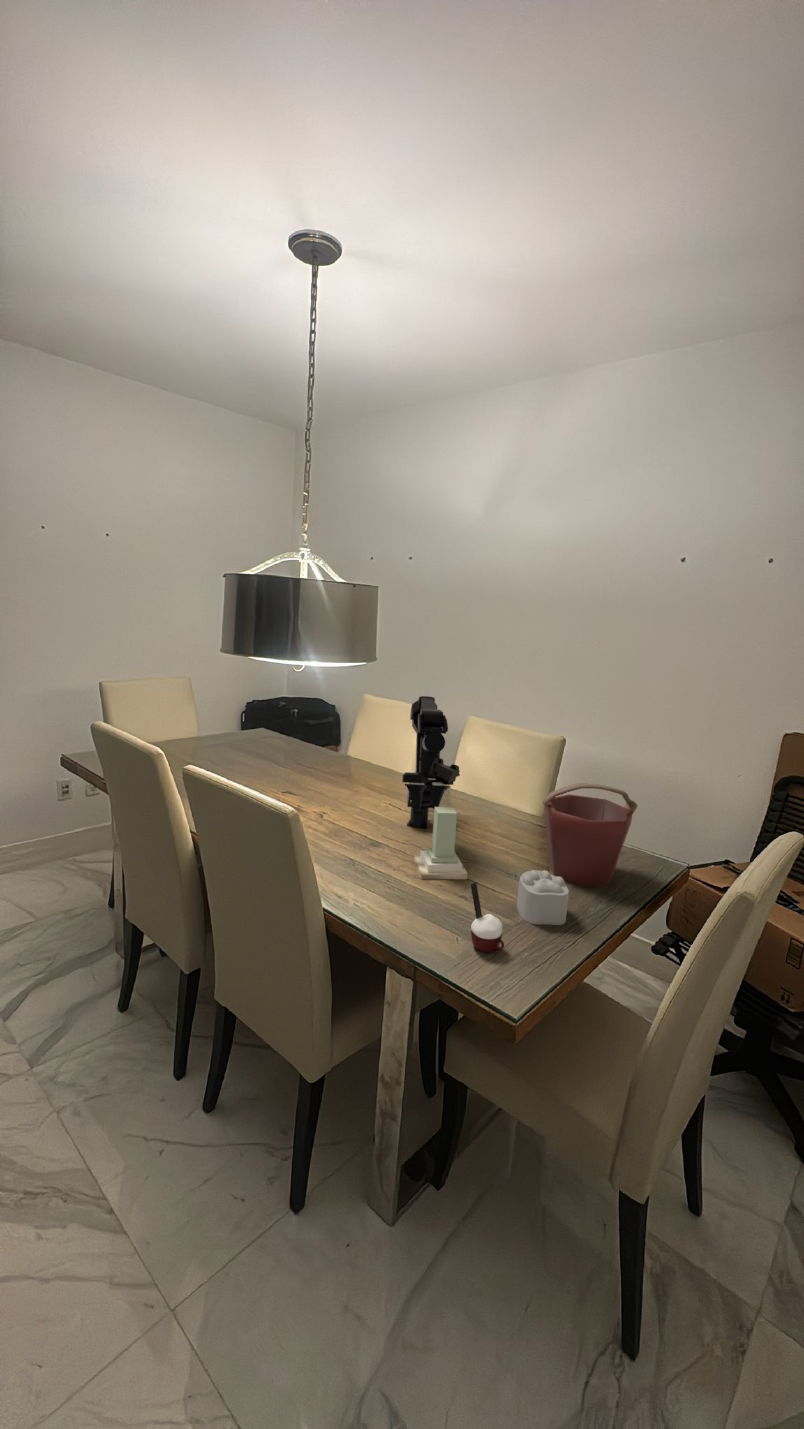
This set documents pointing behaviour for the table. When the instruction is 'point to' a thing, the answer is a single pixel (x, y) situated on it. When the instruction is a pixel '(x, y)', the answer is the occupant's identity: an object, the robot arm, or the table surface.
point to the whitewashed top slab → (439, 864)
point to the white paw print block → (542, 898)
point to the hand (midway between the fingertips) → (427, 809)
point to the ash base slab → (438, 875)
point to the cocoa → (485, 927)
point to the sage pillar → (443, 836)
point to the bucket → (585, 834)
